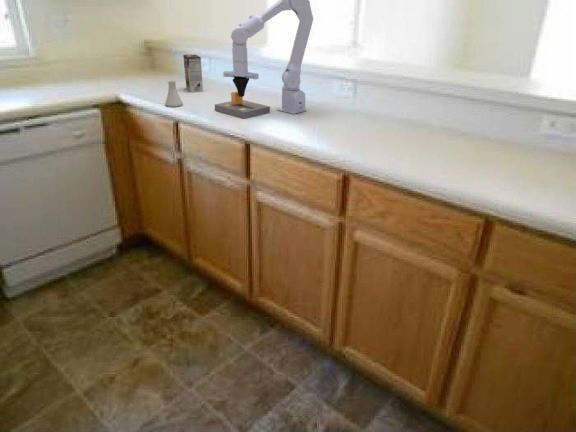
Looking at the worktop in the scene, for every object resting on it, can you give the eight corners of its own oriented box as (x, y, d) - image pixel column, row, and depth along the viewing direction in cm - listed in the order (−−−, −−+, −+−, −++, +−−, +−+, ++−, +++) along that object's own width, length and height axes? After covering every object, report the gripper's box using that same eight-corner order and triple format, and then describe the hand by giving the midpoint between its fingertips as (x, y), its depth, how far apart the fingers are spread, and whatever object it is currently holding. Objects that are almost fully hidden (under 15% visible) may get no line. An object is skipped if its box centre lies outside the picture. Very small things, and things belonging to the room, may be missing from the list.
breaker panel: (269, 112, 182) (269, 106, 180) (244, 118, 172) (243, 111, 171) (240, 105, 193) (240, 98, 191) (214, 110, 183) (214, 103, 182)
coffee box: (185, 89, 221) (182, 54, 214) (198, 88, 224) (196, 54, 216) (190, 92, 214) (187, 57, 207) (203, 91, 216) (201, 56, 209)
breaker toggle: (242, 103, 184) (242, 92, 182) (235, 104, 181) (234, 93, 179) (238, 102, 185) (238, 91, 183) (231, 103, 183) (231, 92, 180)
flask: (161, 106, 189) (159, 81, 185) (173, 102, 195) (170, 79, 190) (175, 108, 186) (172, 83, 182) (186, 104, 192) (184, 80, 187)
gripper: (261, 60, 175) (262, 95, 181) (228, 58, 179) (230, 92, 186) (253, 63, 169) (254, 99, 175) (219, 60, 173) (222, 96, 180)
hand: (241, 96), depth 180 cm, fingers closed
